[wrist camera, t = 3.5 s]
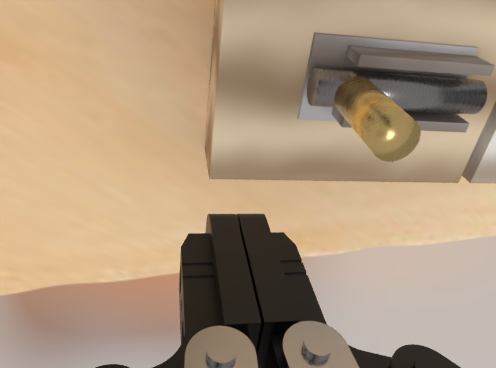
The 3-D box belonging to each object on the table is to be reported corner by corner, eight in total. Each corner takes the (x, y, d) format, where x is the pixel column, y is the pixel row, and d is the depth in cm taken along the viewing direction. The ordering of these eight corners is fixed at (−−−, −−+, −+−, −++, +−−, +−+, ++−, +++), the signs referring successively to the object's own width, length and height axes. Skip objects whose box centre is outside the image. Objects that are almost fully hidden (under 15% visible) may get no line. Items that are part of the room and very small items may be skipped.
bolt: (312, 61, 23) (360, 114, 17) (472, 73, 25) (562, 124, 19) (304, 99, 24) (347, 160, 18) (457, 107, 26) (539, 165, 20)
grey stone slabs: (221, -81, 23) (243, -74, 16) (612, -27, 28) (750, -5, 21) (204, 148, 30) (215, 217, 24) (515, 157, 35) (594, 216, 29)
